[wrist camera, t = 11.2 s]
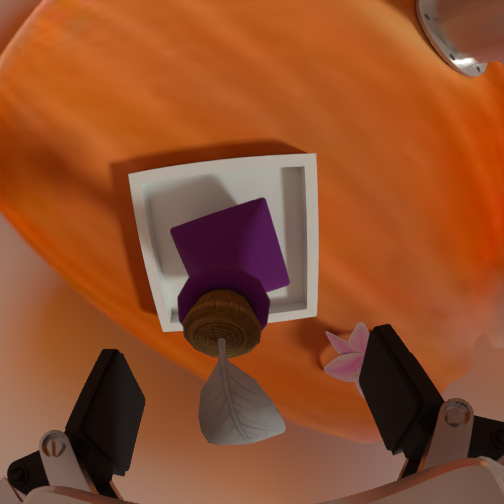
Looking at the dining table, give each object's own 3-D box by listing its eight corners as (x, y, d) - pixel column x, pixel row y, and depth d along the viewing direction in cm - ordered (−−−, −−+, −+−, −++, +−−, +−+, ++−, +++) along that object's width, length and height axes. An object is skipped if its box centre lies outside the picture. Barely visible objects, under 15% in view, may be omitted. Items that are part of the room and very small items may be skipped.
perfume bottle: (176, 218, 23) (75, 371, 6) (260, 190, 23) (346, 303, 6) (207, 292, 25) (188, 478, 9) (283, 268, 25) (358, 443, 8)
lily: (350, 276, 28) (336, 344, 21) (434, 312, 26) (441, 380, 19) (313, 339, 36) (293, 398, 28) (385, 366, 33) (377, 424, 26)
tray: (307, 153, 22) (315, 153, 20) (310, 304, 28) (316, 316, 26) (137, 171, 22) (128, 174, 20) (167, 318, 27) (163, 331, 25)
